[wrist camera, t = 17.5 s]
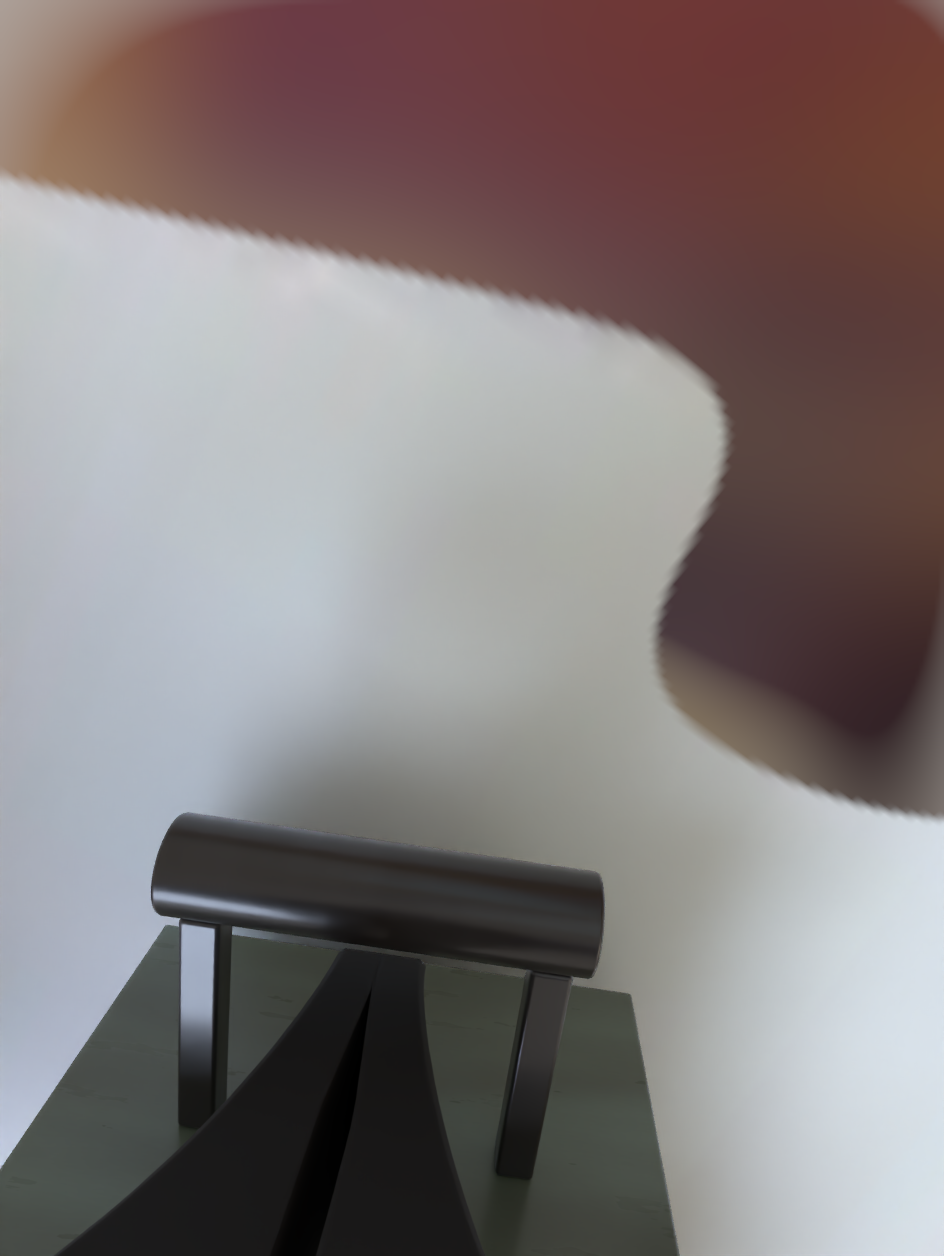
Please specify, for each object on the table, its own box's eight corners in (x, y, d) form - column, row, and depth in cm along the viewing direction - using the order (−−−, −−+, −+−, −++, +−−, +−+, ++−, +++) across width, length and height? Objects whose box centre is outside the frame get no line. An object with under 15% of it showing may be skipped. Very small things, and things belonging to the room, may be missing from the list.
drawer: (166, 692, 14) (-100, 909, 8) (684, 765, 14) (811, 1046, 8) (165, 1318, 19) (5, 1732, 13) (540, 1379, 19) (550, 1827, 13)
